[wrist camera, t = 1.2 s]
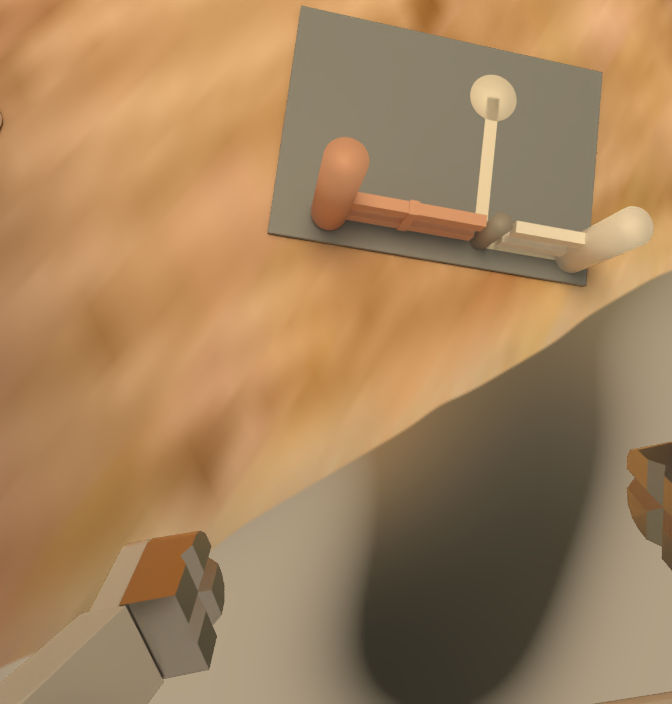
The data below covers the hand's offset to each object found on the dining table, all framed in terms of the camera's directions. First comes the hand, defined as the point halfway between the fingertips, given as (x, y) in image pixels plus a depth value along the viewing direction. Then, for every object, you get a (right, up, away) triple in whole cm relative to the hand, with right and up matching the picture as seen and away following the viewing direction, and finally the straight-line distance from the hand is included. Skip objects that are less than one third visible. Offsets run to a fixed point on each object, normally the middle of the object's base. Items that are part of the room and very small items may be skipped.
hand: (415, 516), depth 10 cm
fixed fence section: (+16, +13, +38) cm, 43 cm away
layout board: (+9, +22, +38) cm, 45 cm away
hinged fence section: (+3, +15, +35) cm, 39 cm away
